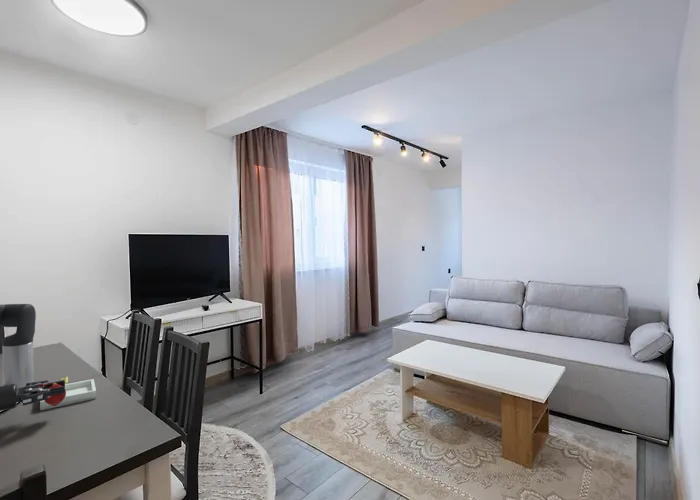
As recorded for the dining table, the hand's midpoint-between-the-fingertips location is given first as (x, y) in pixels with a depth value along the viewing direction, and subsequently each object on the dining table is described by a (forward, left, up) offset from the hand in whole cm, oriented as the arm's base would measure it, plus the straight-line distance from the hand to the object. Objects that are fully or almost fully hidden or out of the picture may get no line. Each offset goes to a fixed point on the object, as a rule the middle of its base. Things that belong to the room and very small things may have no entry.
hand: (64, 386), depth 123 cm
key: (-30, 0, -10) cm, 32 cm away
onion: (0, -3, -6) cm, 7 cm away
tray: (-16, +1, -10) cm, 18 cm away
